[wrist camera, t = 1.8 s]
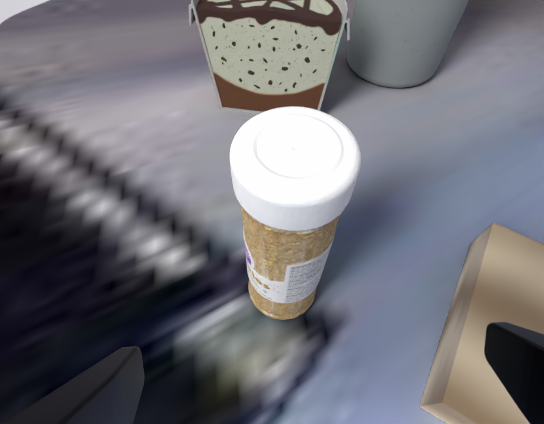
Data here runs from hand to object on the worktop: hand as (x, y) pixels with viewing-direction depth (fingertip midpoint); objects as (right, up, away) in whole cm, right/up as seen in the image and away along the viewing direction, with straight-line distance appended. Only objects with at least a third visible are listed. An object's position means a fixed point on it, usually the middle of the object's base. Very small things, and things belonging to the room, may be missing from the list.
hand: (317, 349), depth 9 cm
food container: (-1, +15, +25) cm, 29 cm away
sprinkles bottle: (0, -2, +14) cm, 14 cm away
